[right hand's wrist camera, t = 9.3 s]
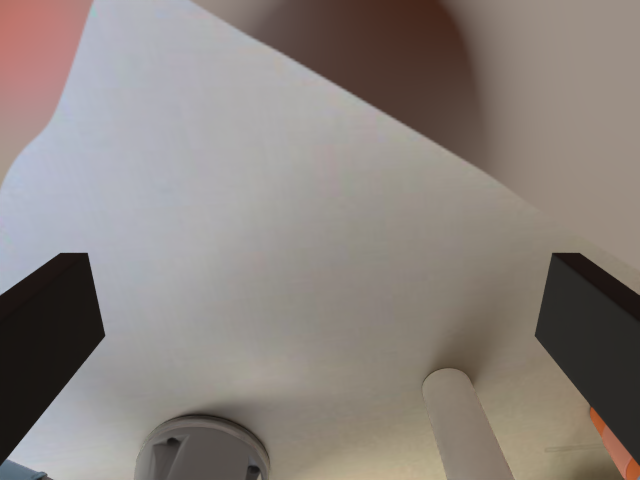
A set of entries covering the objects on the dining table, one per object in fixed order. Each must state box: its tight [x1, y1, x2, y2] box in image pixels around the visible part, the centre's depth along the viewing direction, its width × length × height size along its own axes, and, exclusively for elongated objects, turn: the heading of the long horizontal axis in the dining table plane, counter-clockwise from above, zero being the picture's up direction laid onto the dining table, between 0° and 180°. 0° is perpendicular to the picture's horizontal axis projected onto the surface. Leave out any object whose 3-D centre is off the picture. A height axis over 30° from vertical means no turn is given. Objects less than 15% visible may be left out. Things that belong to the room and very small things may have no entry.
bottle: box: [422, 368, 515, 480], centre depth 38 cm, size 5×5×20 cm
